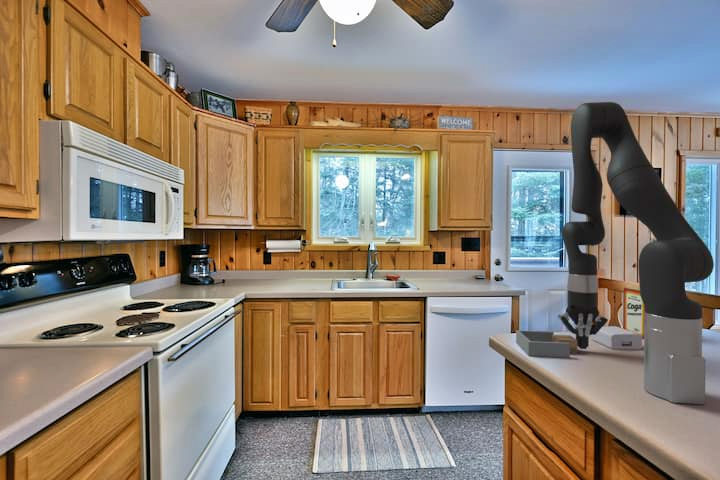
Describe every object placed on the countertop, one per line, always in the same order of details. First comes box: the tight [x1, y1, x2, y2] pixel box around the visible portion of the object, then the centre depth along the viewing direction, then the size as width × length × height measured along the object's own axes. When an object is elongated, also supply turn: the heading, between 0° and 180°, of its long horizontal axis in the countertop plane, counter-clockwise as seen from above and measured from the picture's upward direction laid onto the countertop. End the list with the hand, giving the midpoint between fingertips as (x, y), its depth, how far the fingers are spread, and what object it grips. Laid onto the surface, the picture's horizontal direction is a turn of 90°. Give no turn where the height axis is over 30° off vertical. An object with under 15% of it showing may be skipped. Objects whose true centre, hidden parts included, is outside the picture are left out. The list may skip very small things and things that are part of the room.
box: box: [515, 329, 571, 359], centre depth 102 cm, size 12×11×4 cm
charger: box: [591, 325, 643, 350], centre depth 110 cm, size 5×9×15 cm
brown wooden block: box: [552, 334, 578, 355], centre depth 101 cm, size 5×5×4 cm
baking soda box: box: [622, 287, 645, 340], centre depth 116 cm, size 10×6×16 cm
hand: (582, 348), depth 101 cm, fingers closed
